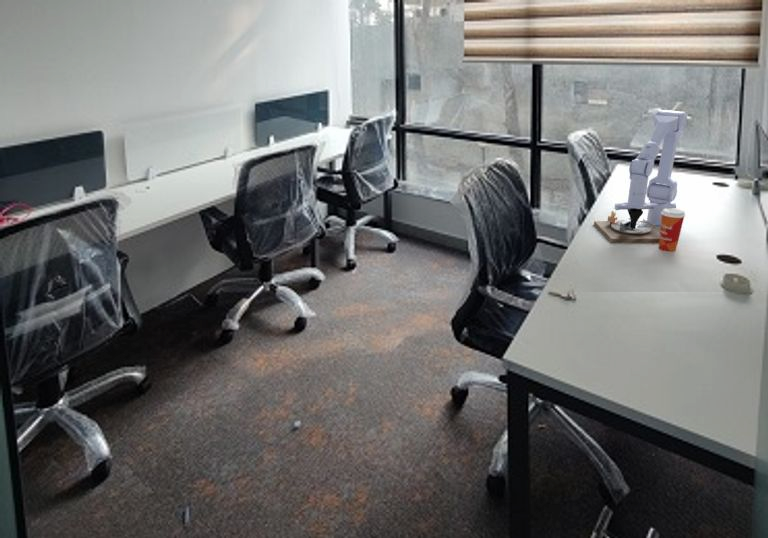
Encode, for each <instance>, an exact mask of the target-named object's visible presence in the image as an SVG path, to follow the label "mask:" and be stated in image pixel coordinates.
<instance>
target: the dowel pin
mask: <svg viewBox="0 0 768 538" xmlns="http://www.w3.org/2000/svg"><path fill="white" fill-rule="evenodd" d="M616 215H617V212H616V210H615V211H613V210H612V211H611V214H610V216H615V217H616ZM612 223H613V222H610V225H611V224H612Z"/></svg>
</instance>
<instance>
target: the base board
mask: <svg viewBox="0 0 768 538" xmlns="http://www.w3.org/2000/svg"><path fill="white" fill-rule="evenodd" d="M638 222H642V223H646V224H648V225H650V226H651V231H650V232H649V233H646V234H627V233H622V232H618V231H616V230H614V229H612V227H611V225H610V222H608V220H602V221H601V220H596V221H595V220H594V221H593V226H594V227H595V228H596V229H597V230H598V231H599V232H600V233H601V234H602V235H603V237H605V238H606V239H607V240H608V241H609V242H610V243H611V244H616V243H618V244H620V243H621V244H625V243H627V244H630V243H633V244H638V243H641V244H642V243H643V244H645V243H646V244H647V243H648V244H649V243H653V244H654V243H655V244H656V243H658V244H659V238H660V229H659V228H657V227H656V225H652V224H651V223H650V222H649V221H644V220H638Z"/></svg>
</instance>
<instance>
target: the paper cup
mask: <svg viewBox="0 0 768 538" xmlns="http://www.w3.org/2000/svg"><path fill="white" fill-rule="evenodd" d="M661 214H662V219H661V225H660V229H659V230H660V238H659V243H658V249H659V250H660V251H664V252H668V253H669V252H675V251H676V250H677V246H678V243H679V240H680V235H681V232H682V227H683V223H684V220H685V219H684V218H685V217H686V212H685V211H684V210H683V209H681V208H677V207H676V208H672V209H671V208H665V209H663V212H661Z"/></svg>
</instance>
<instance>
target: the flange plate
mask: <svg viewBox="0 0 768 538" xmlns="http://www.w3.org/2000/svg"><path fill="white" fill-rule="evenodd" d="M607 221H608V222H613V223H612V224H611V227H612V229H614V230H616V231H618V232H622V233H627V234H646V233H649V232H650V231H651V226H650V225H648V224H646V223H642V222H638V221H639V220H638V221H637V223H636V228H635V229H632V228H630V223H631V219H630V217H629V218H627V219H626V220H625V219H622V220H618V217H617V216H616V215H615V216H611V215H608V216H607Z"/></svg>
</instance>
